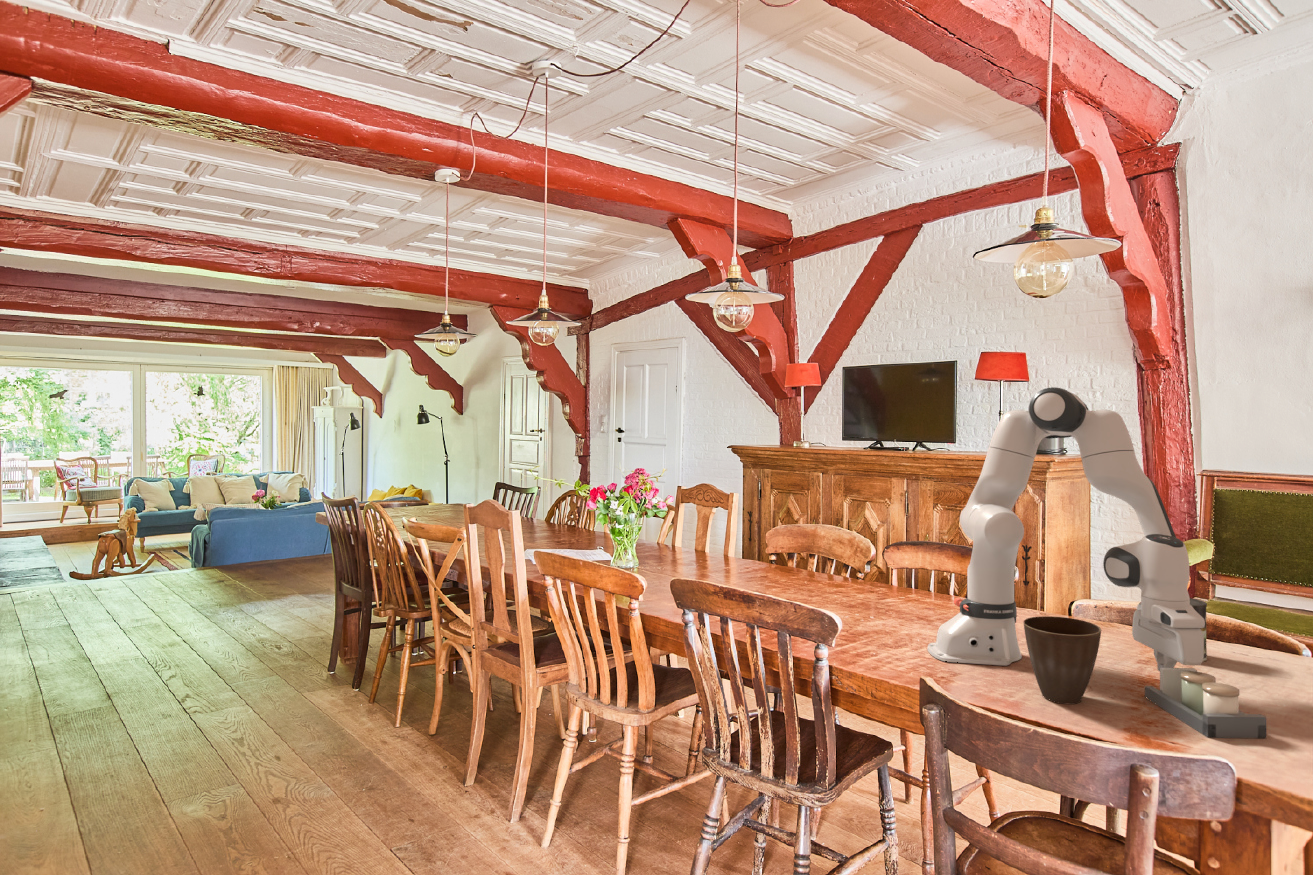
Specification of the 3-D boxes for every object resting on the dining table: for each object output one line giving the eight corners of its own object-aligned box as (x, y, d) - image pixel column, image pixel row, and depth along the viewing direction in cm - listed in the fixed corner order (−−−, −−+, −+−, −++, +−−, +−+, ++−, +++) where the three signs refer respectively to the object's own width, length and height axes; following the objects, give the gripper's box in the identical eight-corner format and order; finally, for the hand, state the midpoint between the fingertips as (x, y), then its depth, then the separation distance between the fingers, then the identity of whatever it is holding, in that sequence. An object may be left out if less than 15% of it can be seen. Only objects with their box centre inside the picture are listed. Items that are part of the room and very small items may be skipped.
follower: (1163, 702, 161) (1163, 669, 161) (1153, 696, 164) (1153, 664, 164) (1197, 702, 160) (1196, 669, 160) (1186, 696, 164) (1186, 664, 164)
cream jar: (1214, 734, 145) (1214, 692, 145) (1195, 722, 151) (1195, 682, 151) (1246, 734, 145) (1246, 692, 144) (1226, 722, 150) (1226, 682, 150)
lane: (1207, 737, 144) (1207, 716, 143) (1144, 697, 164) (1144, 679, 164) (1266, 738, 143) (1266, 717, 143) (1195, 697, 164) (1195, 679, 164)
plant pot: (1118, 707, 159) (1118, 631, 159) (1057, 714, 156) (1056, 636, 156) (1066, 683, 174) (1065, 614, 173) (1008, 689, 171) (1008, 618, 170)
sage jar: (1174, 709, 158) (1174, 670, 158) (1203, 709, 157) (1203, 671, 157) (1192, 719, 152) (1191, 680, 152) (1222, 720, 151) (1222, 680, 151)
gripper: (1124, 599, 176) (1124, 658, 177) (1178, 622, 156) (1178, 688, 156) (1152, 599, 176) (1152, 658, 176) (1210, 622, 156) (1210, 689, 156)
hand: (1165, 673), depth 166 cm, fingers closed
